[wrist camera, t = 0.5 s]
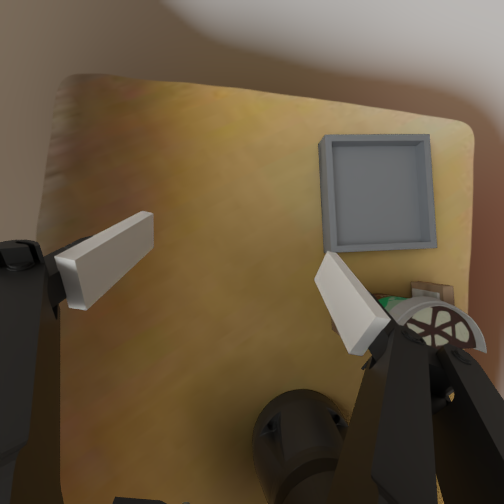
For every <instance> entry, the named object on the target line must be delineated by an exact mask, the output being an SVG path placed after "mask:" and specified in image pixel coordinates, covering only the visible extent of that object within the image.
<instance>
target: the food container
mask: <svg viewBox="0 0 504 504" xmlns="http://www.w3.org/2000/svg"><path fill="white" fill-rule="evenodd" d="M373 295H374V296H375V297H376V298H377V299H378V301H379V302H380V304H382V305H383V307H384V309H386V310H387V311H388V313H389V314H390V315H391V316H392V317H393V318H394V320H395V321H396V322H397V323H398V324H399V325H402V326H406V327H408V328H410V329H412V330H413V331H415V332H416V333H418V334H419V335H420V336H421V337H422V338H423V339H424V340H425V342H426V344H427V345H429V346H431V347H434V348H436V349H440V348H441V347H442V346H443V345H444V344H451V345H454V346H456V347H458V348H460V349H465V348H474V349H476V350H479V351H482V352H485V353H486V352H487V351H486V344H485V340H484V337H483V335H482V332H481V330H480V329H479V327H478V325H477V324H476V323H475V322H474V320H473V319H472V318H470V316H468V315H467V314H466V313H464V312H463V311H462V310H460V309H458V308H457V307H455V306H453V305H451V304H448V303H446V302H444V301H441V300H439V299H437V298H433V297H426V296H420V297H413V298H403V297H397V296H391V295H385V294H373Z"/></svg>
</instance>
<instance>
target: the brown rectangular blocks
mask: <svg viewBox="0 0 504 504" xmlns="http://www.w3.org/2000/svg"><path fill="white" fill-rule="evenodd" d="M411 289H412V298H413V297H420V296H426V297H433V298H437V299H439V300H441V301H444V302H446V303H448V304H451V305H453V306H455V305H454V291H453V286H450V285H443V284H435V283H428V282H421V281H418V282H411ZM332 330H333V331H334V332H336V333H337V334H338V335H340V334H339V332H338V330H337V327H336V325H335V323H334V321H333V319H332Z"/></svg>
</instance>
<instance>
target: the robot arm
mask: <svg viewBox="0 0 504 504" xmlns="http://www.w3.org/2000/svg"><path fill="white" fill-rule="evenodd" d="M152 248H154V230H153V213H150V212H145V211H141V212H139V213H137V214H135V215H133V216H131V217H129V218H127V219H125V220H124V221H122V222H120V223H118V224H116V225H114V226H112V227H110V228H108V229H106V230H104V231H102V232H100V233H98V234H96V235H95V236H89V237H85V238H81V239H79V240H77V241H75V242H73V243H72V244H69V245H67V246H65V247H62V248H60V249H58V250H56V251H54V252H52V253H50V254H48V255H46V256H44V257H43V255H42V251H41V248H40V245H39V243H37V242H35V241H31V240H11V241H4V242H0V504H64V502H63V497H62V492H61V486H60V307H59V303H60V302H61V301H63V300H64V299H65V298H66V299H67V302H68V306H69V308H75V309H81V310H87V309H89V308H90V307H91V306H92V305H93V304H94V303H95V302H96V301H97V300H98V299H99V298H100V297H101V296H102V295H103V294H105V293H106V292H107V291H108V290H109V289H110V288H111V287H112V286H113V285H114V284H115V283H116V282H117V281H118V280H119V279H121V278H122V277H123V276H124V275H125V274H126V273H127V272H128V271H129V270H130V269H131V268H132V267H133V266H134V265H135V264H137V263H138V262H139V261H140V260H141V259H142V258H143V257H144V256H145V255H146V254H147V253H148V252H149V251H150V250H151V249H152ZM314 280H315V283H316V285H317V287H318V289H319V291H320V293H321V295H322V297H323V300H324V302H325V304H326V306H327V308H328V310H329V312H330V315H331V317H332V319H333V321H334V323H335V325H336V327H337V330H338V332H339V334H340V336H341V338H342V340H343V342H344V344H345V347H346V349H347V351H348V353H349V354H353V355H359V356H363V354H364V353H365V352H366V351H367V349H369V350H370V352H371V354H372V356H371V357H370V358H369V360H368V361H367V362H366V363H365V364H364V366H363V367H362V368H361V369H363V370H364V369H365V368H366V370H365V373H364V376H363V380H362V383H361V386H360V390H359V393H358V396H357V400H356V403H355V407H354V410H353V413H352V417H351V420H350V423H349V426H348V424H347V422H346V420H345V419H344V417H343V415H342V414H341V412H340V411H339V409H338V408H337V407H336V405H335V404H334V403H333V402H332V401H331V400H330V399H328V398H327V397H325V396H324V395H322V394H320V393H317V392H314V391H310V390H294V391H290V392H286V393H284V394H282V395H280V396H278V397H276V398H275V399H273V400H272V401H271V402H270V403H269V404H268V405H267V406H266V407H265V408H264V409H263V411H262V412H261V413H260V415H259V417H258V419H257V421H256V424H255V427H254V431H253V438H252V445H253V459H254V465H255V470H256V473H257V476H258V479H259V481H260V484H261V486H262V489H263V492H264V494H265V497H266V500H267V502H268V504H438V500H437V485H436V476H437V479H438V483H439V486H440V490H441V493H442V497H443V501H444V504H504V400H503V398H502V397H501V396H500V394H499V393H498V391H497V390H496V389H495V387H494V385H493V384H492V382H491V381H490V379H489V378H488V376H487V375H486V373H485V372H484V371H483V369H482V368H481V366H480V365H479V363H478V362H477V361H476V360H475V359H474V358H473V357H472V356H471V355H470V354H469V353H467V352H465V351H464V350H463V349H460V348H458V347H456V346H454V345H451V344H444V345H443V346H442V347H441V348H440V349H436V348H434V347H431V346H429V345H427V344H426V342H425V340H424V339H423V338H422V337H421V336H420V335H419V334H418V333H416V332H415V331H413V330H412V329H410V328H408V327H406V326H402V325H399V324H398V323H397V322H396V321H395V320H394V318H393V317H392V316H391V315H390V314H389V313H388V311H387V310H386V309H384V307H383V305H382V304H380V302H379V301H378V299H377V298H376V297H375V296H374V295H373V294H371V293H370V292H369V291H368V290H366V288H365V287H364V286H363V285H362V284H361V282H360V281H359V280H358V279H357V277H356V276H355V275H354V274H353V273H352V271H351V270H350V269H349V268H348V266H347V265H346V264H345V263H344V261H343V260H342V259H341V258H340V257H339V255H338V254H337V253H334V252H330V251H327V253H326V255H325V257H324V259H323V261H322V264H321V266H320V268H319V270H318V272H317V274H316V276H315V279H314ZM453 392H454V399H453V401H452V402H451V400H450V398H449V395H450V394H451V393H453ZM113 504H166V503H164V502H163V501H160V500H148V499H135V498H123V497H115V499H114V501H113ZM183 504H190V503H189V502H184V503H183Z"/></svg>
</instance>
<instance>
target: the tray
mask: <svg viewBox="0 0 504 504" xmlns="http://www.w3.org/2000/svg"><path fill="white" fill-rule="evenodd" d="M318 150H319V169H320V188H321V207H322V226H323V244H324V253H327V251H330V252H357V251H379V250H401V249H424V248H437V239H436V224H435V209H434V194H433V179H432V164H431V149H430V134H372V135H324V137H323V138H322V140H321V141H320V142H319V144H318Z"/></svg>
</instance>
